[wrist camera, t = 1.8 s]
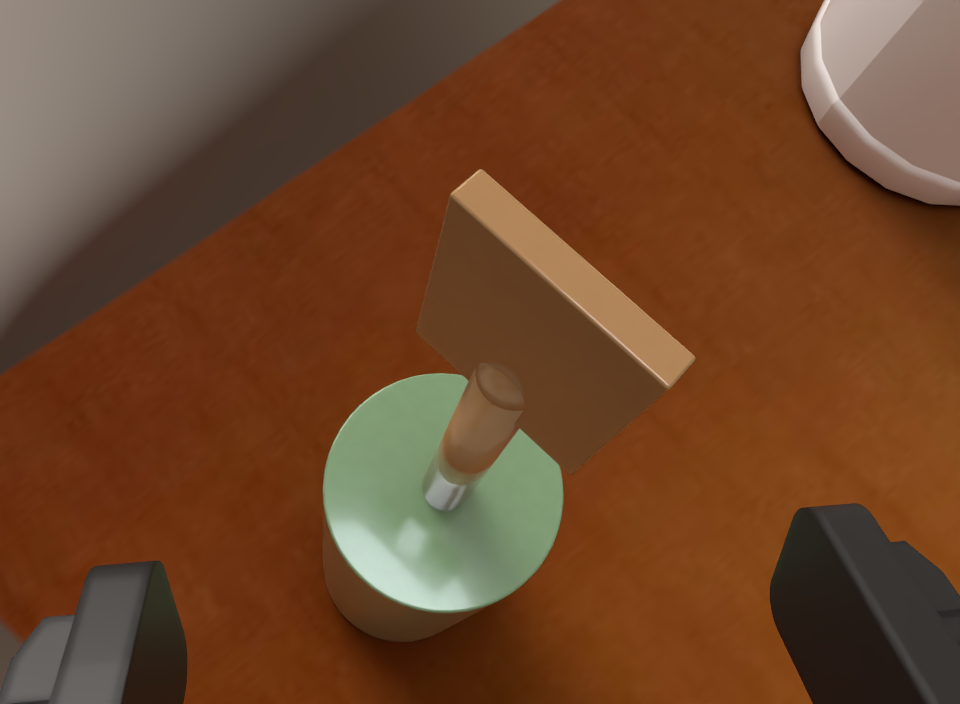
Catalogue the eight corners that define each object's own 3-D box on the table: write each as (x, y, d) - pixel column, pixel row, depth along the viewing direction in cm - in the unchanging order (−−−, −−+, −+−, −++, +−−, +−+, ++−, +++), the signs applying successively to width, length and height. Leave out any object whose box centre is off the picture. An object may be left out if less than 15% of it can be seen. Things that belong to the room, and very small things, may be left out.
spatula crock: (288, 560, 31) (211, 261, 10) (402, 448, 34) (545, 3, 12) (405, 678, 30) (607, 639, 9) (514, 555, 33) (884, 285, 11)
